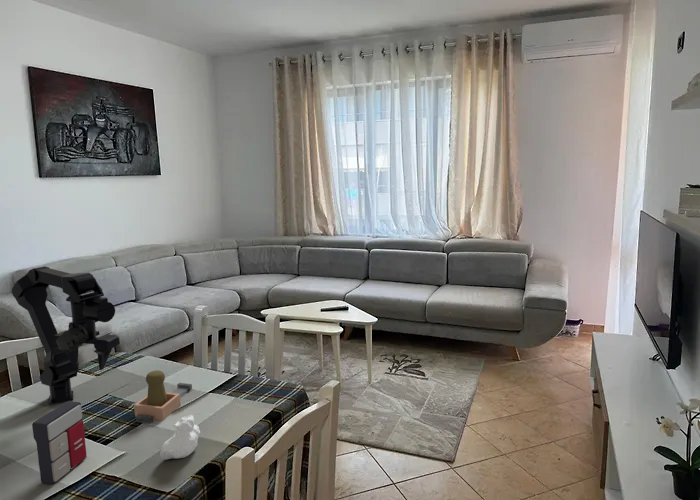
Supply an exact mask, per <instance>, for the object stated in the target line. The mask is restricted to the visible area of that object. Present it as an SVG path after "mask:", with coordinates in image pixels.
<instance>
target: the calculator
mask: <svg viewBox="0 0 700 500" xmlns="http://www.w3.org/2000/svg"><path fill="white" fill-rule="evenodd" d="M31 428H32V436H33V437H32V438H33V439H34V441H35V443H36V449H37V450H36V451H37V458H38V466H39V467H38V468H39V477H40V482H41V483H42V484H48V485H54V484H55V483H57V481H58V480H60V479H61V478H62V477H63V476H65V475H66V474H67V473H69V472H70V471H71V470H72V469H74V468H75V467H76V466H78V464H80V463H81V462H83V460H85V459H86V458H87V457H88V456H87V446H86V437H85V436H86V435H85V425H84V421H83V410H82V404H81V402H80V401H74V400H71V401H66V402H63V403H62V404H61V405H59V406H57V407H56V408H54V409H53V410H51V411H49V412H48V413H46V414H44V415H42V416H41V417H39V418H38V419H36V420H35V421H33V422H32V424H31ZM71 468H72V469H71ZM70 469H71V470H70Z"/></svg>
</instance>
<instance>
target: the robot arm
mask: <svg viewBox="0 0 700 500" xmlns="http://www.w3.org/2000/svg"><path fill="white" fill-rule="evenodd" d="M50 286H52V287H56V288H59V289H61V290H62V293H64V294H66V295H67V296H68V297H66V299H65V301H66V302H70V309H71V312H70V313H71V319H72V321H70V322H69V323H68V330H63V331H61V332H58V331H57V328H56V325H55V323H54V320H53V319H52V317H51V314H50V312H49V308H48V307H47V304H46V303H47V300H48V295H49V294H48V290H47V289H48V288H49V287H50ZM11 294H12V296H13V298H14V299H15V301H16V302H17V304H18V306H20V307H22V308H23V309H24V310H26V311H27V312H28V315H29V317H30V319H31V321H32V324H33V326H34V329H35V330H36V333H37V336H38V338H39V340H40V343H41V345H42V348H43V350H44V352H45V356H44V359H43V367H44V370H43V372H42V373H41V375H40V376H39V379H40V383H41V384H42V385H45V386H47V387H49V389H48V390H49V397H48V404H49V406H50V405H55V404H60V403H65V402H67V401H74V390H72V383H71V382H72V381H71V379H72V378H75V377H77V376H78V373H79V364H80V363H79V348H80V347H81V346H82V345H83V344H88V345H93V348H94V349H95V350H93V352H94V353H95V354H97V360H98V368H99V370H100V371H102V370H104V368H105V366H106V363H107V361H108V358H109V356H110V354H111V352H112V350H113V349H114V348H115V347H117V346H119V345H120V343H121V341H120V337H119V336H118V335H117V334H110V333H109V334H108V333H107V334H104V335H102V336H100V331H98V330H97V327H96V323H98V322H101V323H109V322H110V321H111V320H113V318H114V317H115V313H116V308H115V306H114V304H112V302H109V299H108V297H105V294H104V292H103V288H102V287H101V286H100V285H99V283H98V282H97V279H96V278H95V277H94V275H93V274H92V273H91V272H78V273H69V272H67V271H66V272H65V271H62V270H57V269H53V268H50V267H49V266H41V267H40V266H39V267H34V268H31V269H29V270H28V271H27V273H26V274H25V275H23V276H22V277H21V278H19V279H18V280H16V281H15V283H14V284H13V286H12V288H11ZM98 336H99V337H98Z"/></svg>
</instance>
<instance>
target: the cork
mask: <svg viewBox="0 0 700 500" xmlns="http://www.w3.org/2000/svg"><path fill="white" fill-rule="evenodd" d="M165 379H166V375H165V373H164V371H162V370H152V371H149V372H148V373H147V374H146V377H145V381H146V384H147V395H148V397H147V405H151V406H159V407H162V406H163V405H164V404H165V403H167V402H168V401H167V396H166V388H165V383H164V382H165Z"/></svg>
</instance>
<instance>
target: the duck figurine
mask: <svg viewBox="0 0 700 500" xmlns="http://www.w3.org/2000/svg"><path fill="white" fill-rule="evenodd" d="M173 427H174V428H175V429H176V431H175V432H174V433H173V435H172V436H171V437H170V438H169V439H167V440H166V441H165V442H164V443H163V444H162V447H161V449H160V451H159V452H160V453H159V456H160V458H161V459H162V460H164V461H166V460H170V459H175V460H176V459H183V458H186V457H189V455H191V454H192V453H193V452H194V451H195V449H196V447H197V446H198V444H199V442H198V440H199V437H200V435H201V430H200V427H199V425H197V424H195V418H194V416H193V414H189V415H188V416H187V415H185V416H182V417H180V420H179V421H175V422H174V423H173Z"/></svg>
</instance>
